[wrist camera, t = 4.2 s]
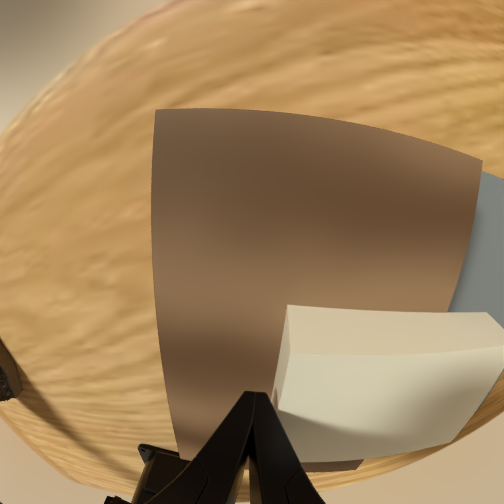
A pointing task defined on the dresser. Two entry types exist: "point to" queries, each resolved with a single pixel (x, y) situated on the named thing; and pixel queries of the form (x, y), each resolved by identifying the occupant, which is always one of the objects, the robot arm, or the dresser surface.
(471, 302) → the mat
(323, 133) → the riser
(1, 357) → the dark bronze flared piece
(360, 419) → the tile
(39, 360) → the dresser surface
